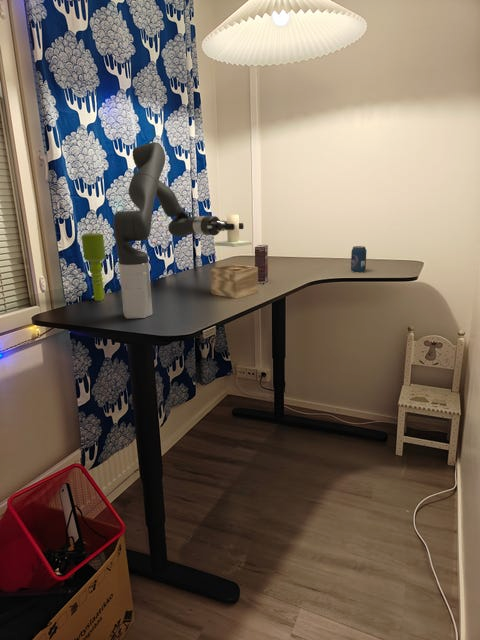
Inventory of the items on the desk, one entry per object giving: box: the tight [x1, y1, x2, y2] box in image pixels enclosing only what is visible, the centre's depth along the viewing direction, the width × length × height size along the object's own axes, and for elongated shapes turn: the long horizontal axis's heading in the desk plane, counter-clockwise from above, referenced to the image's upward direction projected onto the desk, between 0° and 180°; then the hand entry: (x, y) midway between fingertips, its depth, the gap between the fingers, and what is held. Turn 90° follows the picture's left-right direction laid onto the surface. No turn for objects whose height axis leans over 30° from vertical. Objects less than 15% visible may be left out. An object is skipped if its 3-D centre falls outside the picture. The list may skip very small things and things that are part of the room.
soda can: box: [350, 245, 367, 273], centre depth 215 cm, size 7×7×12 cm
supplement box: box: [254, 244, 269, 284], centre depth 196 cm, size 9×5×16 cm, turn 168°
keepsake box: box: [210, 264, 259, 299], centre depth 175 cm, size 13×13×10 cm
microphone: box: [81, 232, 106, 301], centre depth 169 cm, size 8×8×25 cm
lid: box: [214, 214, 253, 248], centre depth 170 cm, size 10×10×11 cm
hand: (238, 226), depth 168 cm, fingers closed on lid, 4 cm apart
